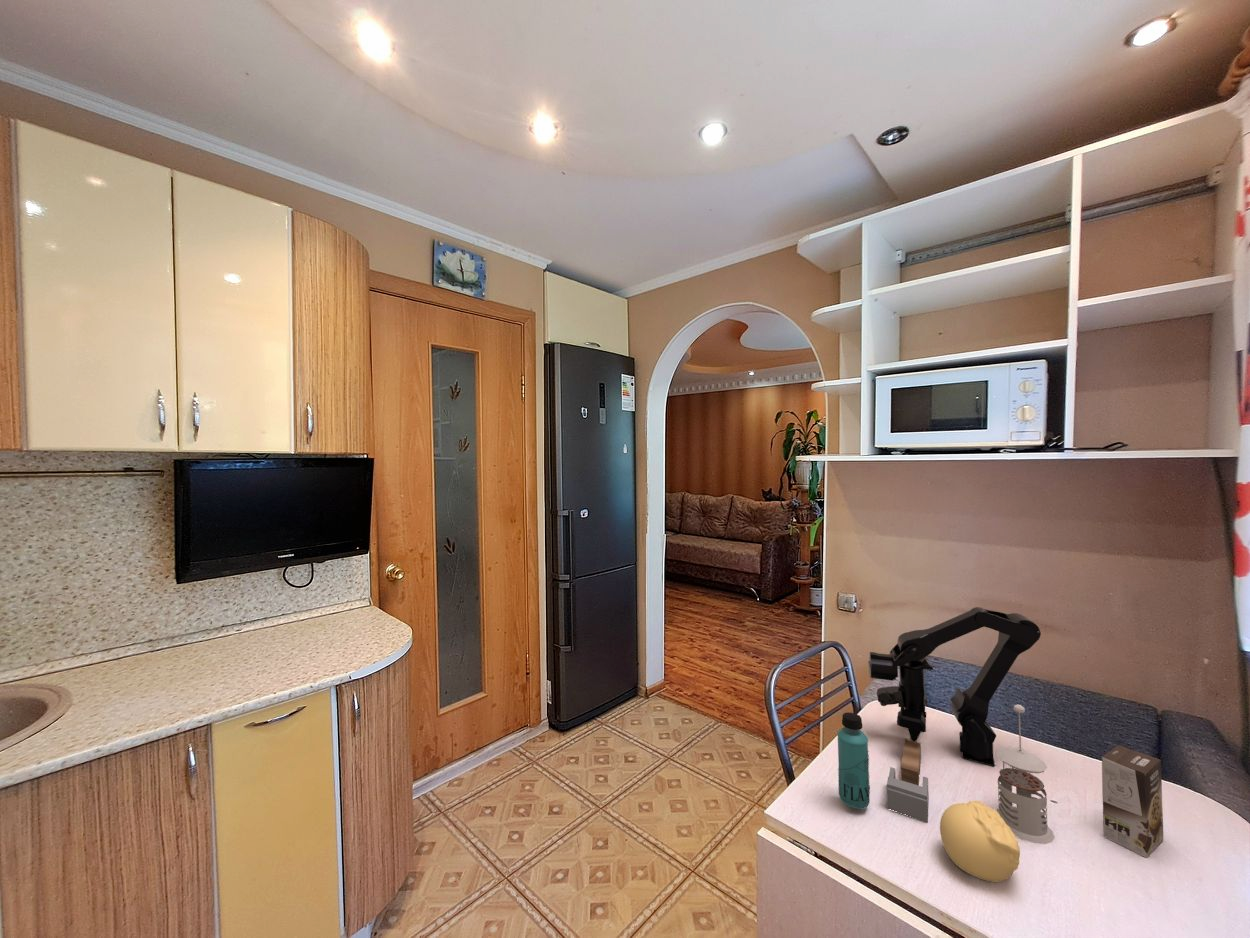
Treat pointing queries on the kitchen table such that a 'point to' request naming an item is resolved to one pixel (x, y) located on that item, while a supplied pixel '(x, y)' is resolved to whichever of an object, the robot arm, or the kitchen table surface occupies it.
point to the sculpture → (979, 841)
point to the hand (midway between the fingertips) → (913, 740)
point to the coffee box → (1132, 800)
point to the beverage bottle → (853, 762)
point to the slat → (911, 762)
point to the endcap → (908, 797)
